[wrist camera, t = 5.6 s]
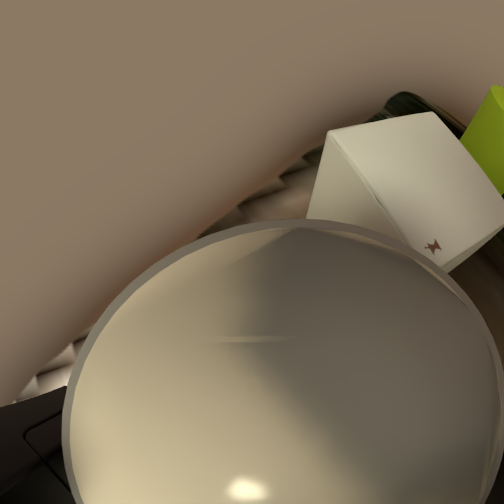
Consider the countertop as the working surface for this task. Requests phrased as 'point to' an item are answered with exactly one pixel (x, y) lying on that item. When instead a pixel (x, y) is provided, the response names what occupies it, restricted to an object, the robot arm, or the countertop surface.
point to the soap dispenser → (488, 137)
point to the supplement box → (408, 187)
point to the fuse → (287, 377)
